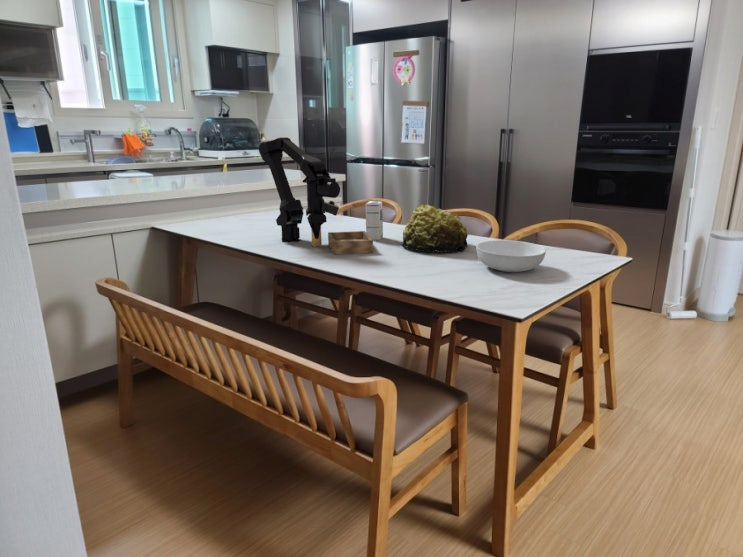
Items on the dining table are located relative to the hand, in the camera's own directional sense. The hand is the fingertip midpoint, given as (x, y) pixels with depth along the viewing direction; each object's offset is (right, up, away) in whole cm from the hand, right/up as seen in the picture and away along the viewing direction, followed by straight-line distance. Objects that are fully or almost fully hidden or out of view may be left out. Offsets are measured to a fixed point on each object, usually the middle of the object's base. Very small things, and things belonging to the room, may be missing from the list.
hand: (316, 237), depth 191 cm
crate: (+13, -4, -4) cm, 14 cm away
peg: (0, -3, +1) cm, 3 cm away
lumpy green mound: (+44, -4, -2) cm, 44 cm away
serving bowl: (+64, -12, -31) cm, 72 cm away
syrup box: (+22, +1, +13) cm, 25 cm away
